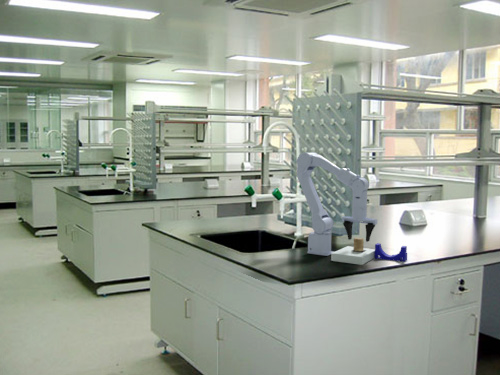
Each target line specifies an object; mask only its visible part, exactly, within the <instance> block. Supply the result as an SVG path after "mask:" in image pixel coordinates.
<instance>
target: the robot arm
mask: <svg viewBox="0 0 500 375" xmlns="http://www.w3.org/2000/svg"><path fill="white" fill-rule="evenodd" d="M295 162H296V177H297V178H296V179H297V180H298V182H299V184H300V187H301V190H302V192H303V196H304V197H305V200H306V202H307V204H308V207H309V210H310V212H311V217H310V220H311V228H312V230H313V231H311V232H309V234H308V238H307V252H306V253H307V254H311V255H318V256H325V257H326V256H327V257H328V256H330V255H331V253H333V252H335V251H333V250H332V229H333V228H334V226H335V225H334V223H335V222H334V219H333V218H332V217H330V215H329V213H328V212H327V211H326V209H324V207H323V204H322V202H321V199H320V197H319V195H318V193H317V192H318V191H317V190H316V188H315V185H314V183H313V179H312V177H311V174H312V172H313V170H314V169H315V168H316V167H321V168H322V169H324V170H326V171H328V172H329V173H331V174H334V175H335V176H336V180H338V181H339V182H341V183H342V184H344V185H345V186H346V187H347V186H348V187H349V188H350V189H351V191H352V208H351V210H352V211H351V212H352V215H351V216H347V215H346V216H345V215H343V216H341V222H343V223H342V224H343V227H344V228H345V233H346V234H347V239H348V240H349V241H350V240H352V237H353V226H354V225H353V224H354V223H357V224H365V242H366V243H368V242H370V241H371V240H370V239H371V235H372V232H373V231H374V228H375V227H376V225H378V219H376V218H369V217H368V216H367V215H368V214H367V212H368V211H367V210H368V209H367V208H368V189H369V188H370V182H369V181H368V179H367V178H365V177H364V176H363V177H361V175H360V174H356V173H354V172H352V171H351V168H349V167H347V168H345V167H343V168H340V167H338V165H336V164H335V163H333V162H331V161H330V160H328V159H327V158H326V157H324V156H322V155H321V154H318V153H317V152H315V151H312V152H302V153H301V152H300V154H299V155H298V157H297V159H296V161H295Z"/></svg>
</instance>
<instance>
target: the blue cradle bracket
mask: <svg viewBox="0 0 500 375" xmlns="http://www.w3.org/2000/svg"><path fill="white" fill-rule="evenodd" d="M381 244H382V243H379V242H378V243H375V245H374V249H375V258H374V259H378V260H386V261H393V262H402V263H404V262H407V260H408V252H407V250H408V248H407V245H402V246H401V247H400V251H399V253H397V254H387V253H386V252H385V251H384V250H383V248H382V245H381Z"/></svg>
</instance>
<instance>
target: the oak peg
mask: <svg viewBox="0 0 500 375" xmlns="http://www.w3.org/2000/svg"><path fill="white" fill-rule="evenodd" d="M364 240H365V239H364V238H361V237H353V247H354V250H353V252H360V253H363V252H364V250H363V248H364V242H365V241H364Z"/></svg>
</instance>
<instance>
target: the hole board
mask: <svg viewBox="0 0 500 375" xmlns="http://www.w3.org/2000/svg"><path fill="white" fill-rule="evenodd" d="M353 250H354V246H350V245H347V246H345V247H342V248H340V249H338V250H336V251H334V252H333V253H331V254H330V255H331V256H330V257H331V259H330V261H331V262H332V261H333V262H339V263H344V264H345V263H347V264H354V265H360V266H363V265H365V264H366V263H369V261H372V260H374V259H376V258H375V248H367V247H363V250H364V252H363V253H360V252H353Z"/></svg>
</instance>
